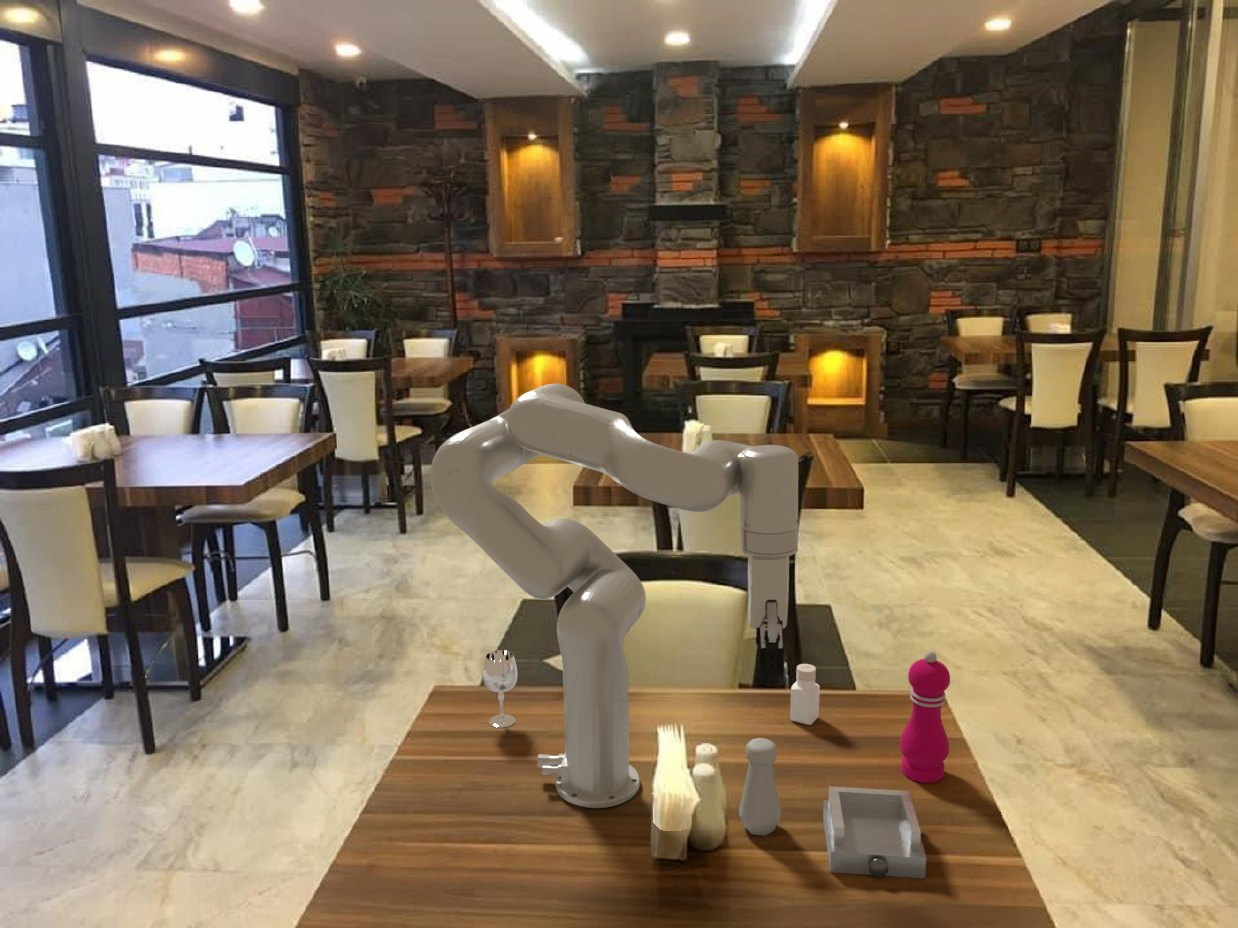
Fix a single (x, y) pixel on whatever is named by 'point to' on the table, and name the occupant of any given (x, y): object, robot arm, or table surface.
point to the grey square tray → (873, 833)
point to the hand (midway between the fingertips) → (769, 658)
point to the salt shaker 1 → (760, 789)
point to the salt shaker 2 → (805, 695)
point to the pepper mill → (926, 722)
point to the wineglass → (500, 681)
